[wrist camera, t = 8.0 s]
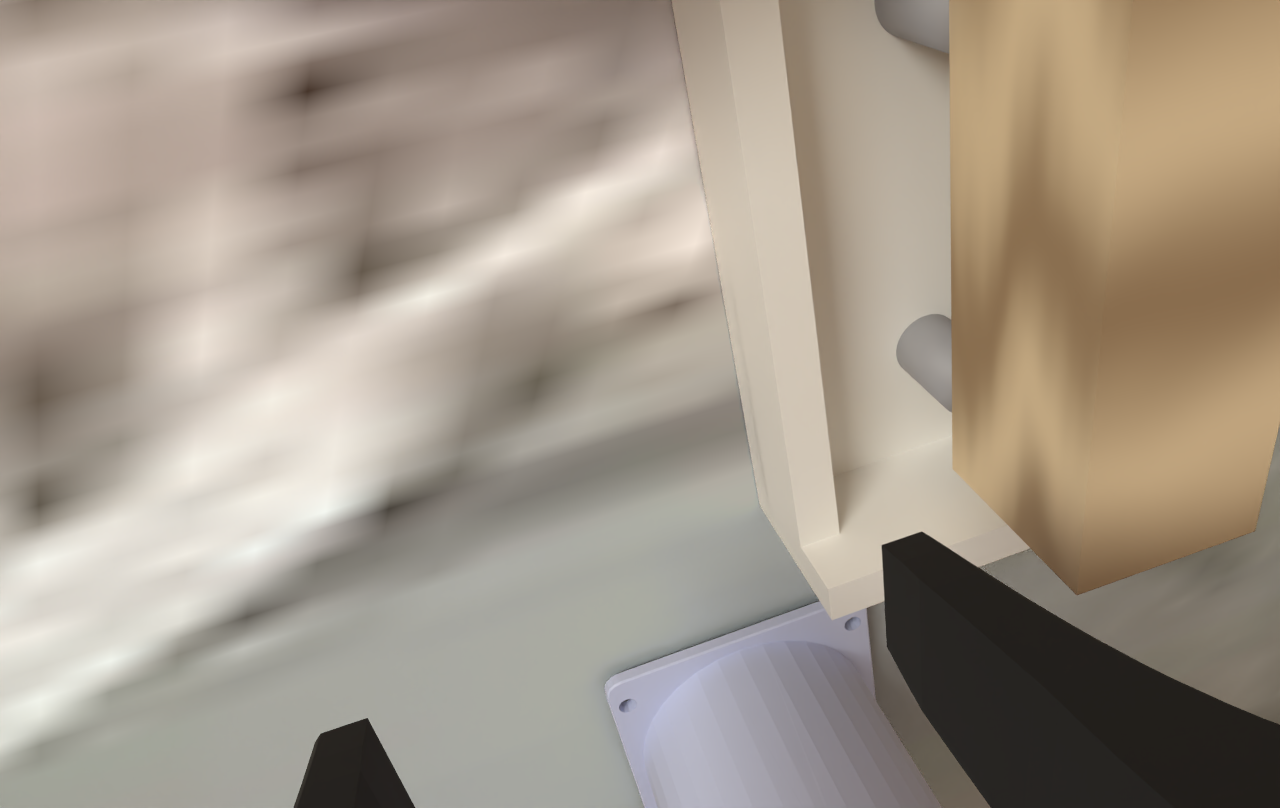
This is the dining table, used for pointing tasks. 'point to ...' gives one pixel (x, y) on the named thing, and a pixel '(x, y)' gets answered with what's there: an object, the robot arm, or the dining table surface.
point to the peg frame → (837, 273)
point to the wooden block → (1115, 273)
